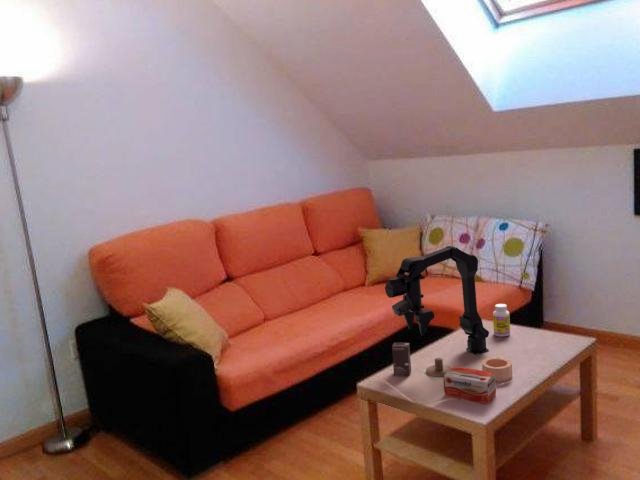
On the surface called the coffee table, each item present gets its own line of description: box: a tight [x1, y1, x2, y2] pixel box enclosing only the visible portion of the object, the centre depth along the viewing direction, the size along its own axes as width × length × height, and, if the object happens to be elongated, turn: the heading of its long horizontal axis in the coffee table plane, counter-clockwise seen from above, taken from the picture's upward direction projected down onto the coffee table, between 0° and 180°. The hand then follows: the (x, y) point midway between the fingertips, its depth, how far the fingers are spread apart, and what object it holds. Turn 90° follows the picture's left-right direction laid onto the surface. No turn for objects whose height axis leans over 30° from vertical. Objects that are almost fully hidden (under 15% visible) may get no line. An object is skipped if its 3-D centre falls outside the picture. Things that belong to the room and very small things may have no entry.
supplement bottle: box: [492, 303, 511, 338], centre depth 248 cm, size 7×7×13 cm
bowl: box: [481, 357, 513, 382], centre depth 209 cm, size 10×10×5 cm
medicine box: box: [443, 366, 497, 405], centre depth 196 cm, size 15×8×8 cm, turn 54°
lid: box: [425, 357, 452, 377], centre depth 217 cm, size 10×10×5 cm
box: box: [391, 341, 412, 377], centre depth 217 cm, size 6×4×12 cm
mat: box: [420, 363, 445, 380], centre depth 217 cm, size 10×10×1 cm
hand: (416, 332), depth 221 cm, fingers open, 9 cm apart
